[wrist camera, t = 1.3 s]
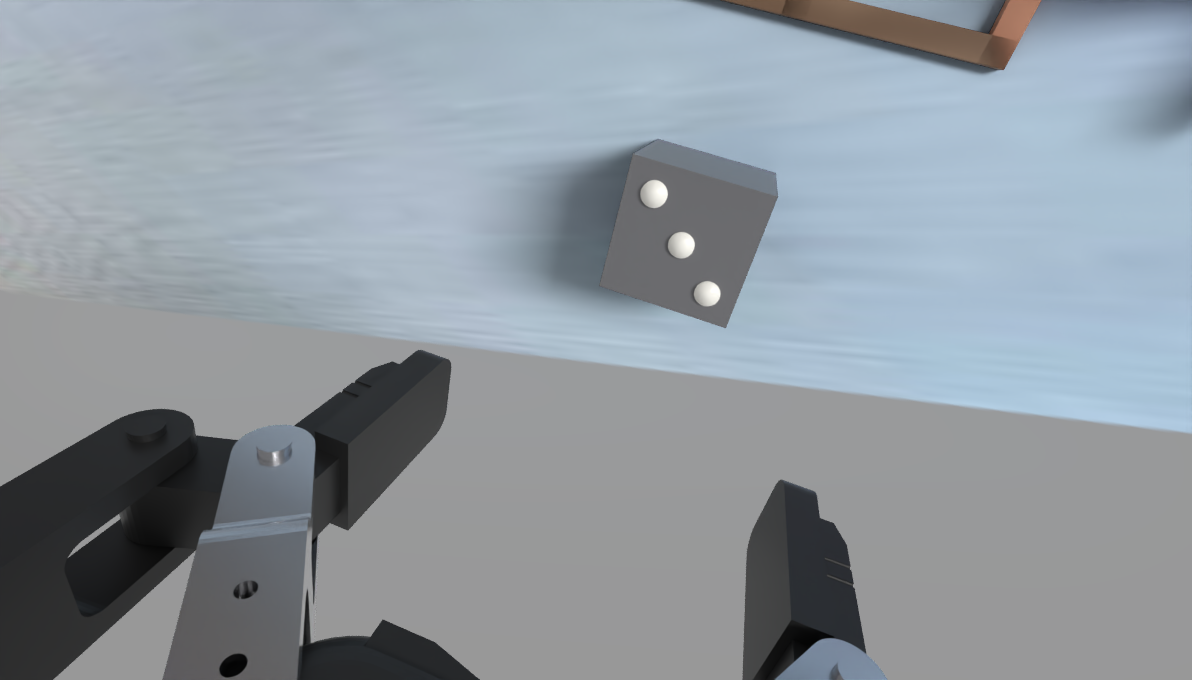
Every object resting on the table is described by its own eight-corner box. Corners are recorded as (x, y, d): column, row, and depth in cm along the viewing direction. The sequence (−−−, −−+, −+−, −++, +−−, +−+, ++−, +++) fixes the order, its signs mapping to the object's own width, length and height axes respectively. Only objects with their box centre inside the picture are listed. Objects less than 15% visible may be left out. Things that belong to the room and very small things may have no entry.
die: (658, 138, 32) (632, 154, 26) (775, 172, 31) (778, 197, 25) (627, 249, 35) (598, 286, 29) (733, 283, 34) (725, 329, 28)
